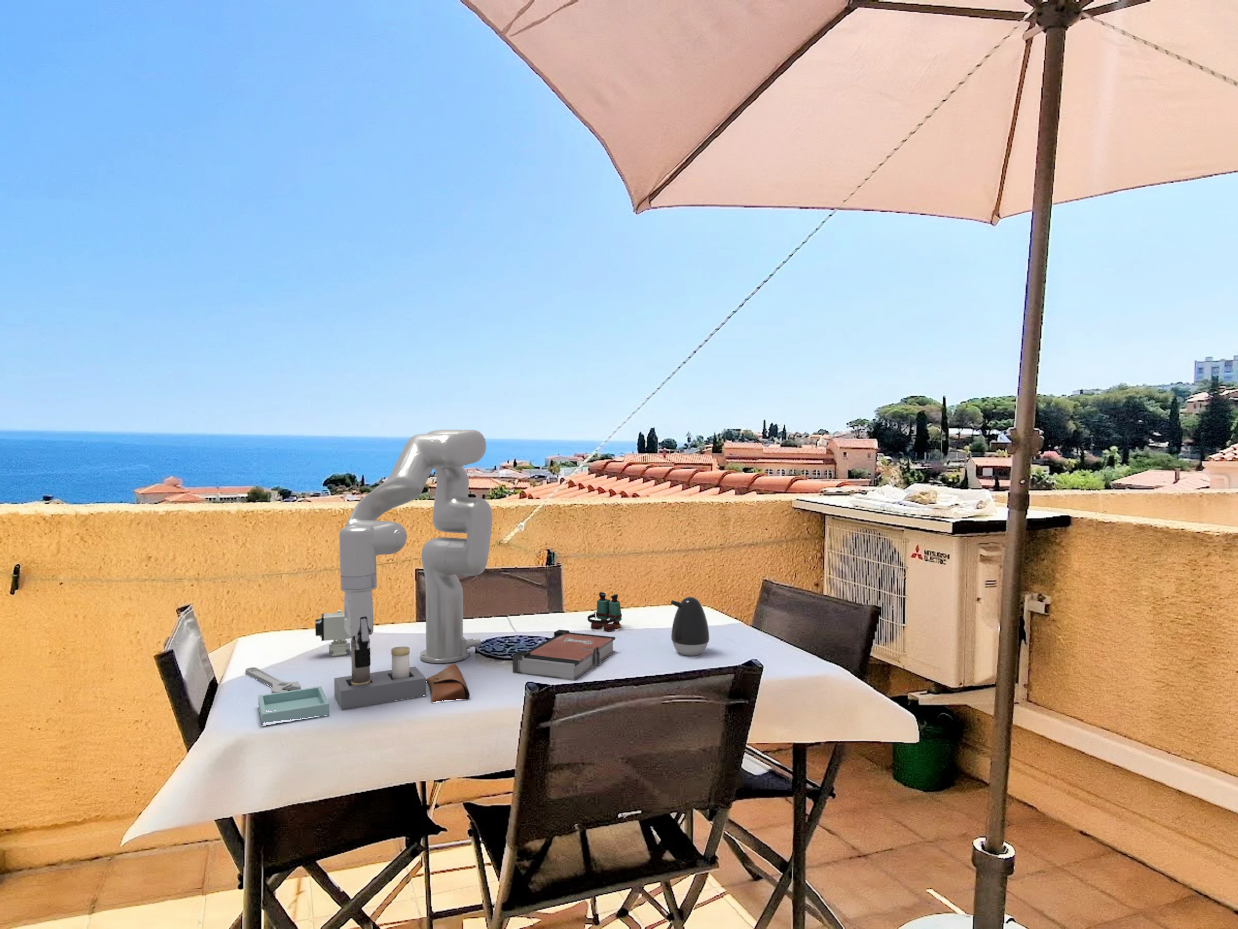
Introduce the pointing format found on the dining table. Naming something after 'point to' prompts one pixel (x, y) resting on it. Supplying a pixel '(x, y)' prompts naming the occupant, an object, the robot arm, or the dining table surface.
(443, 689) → the sunglasses case
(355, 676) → the cylinder
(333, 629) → the pneumatic valve
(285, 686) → the adjustable wrench
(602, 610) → the green twin tank jetpack
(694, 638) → the pump dispenser
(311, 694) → the parts tray
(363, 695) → the block
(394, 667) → the cylinder
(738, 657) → the dining table surface
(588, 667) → the book
